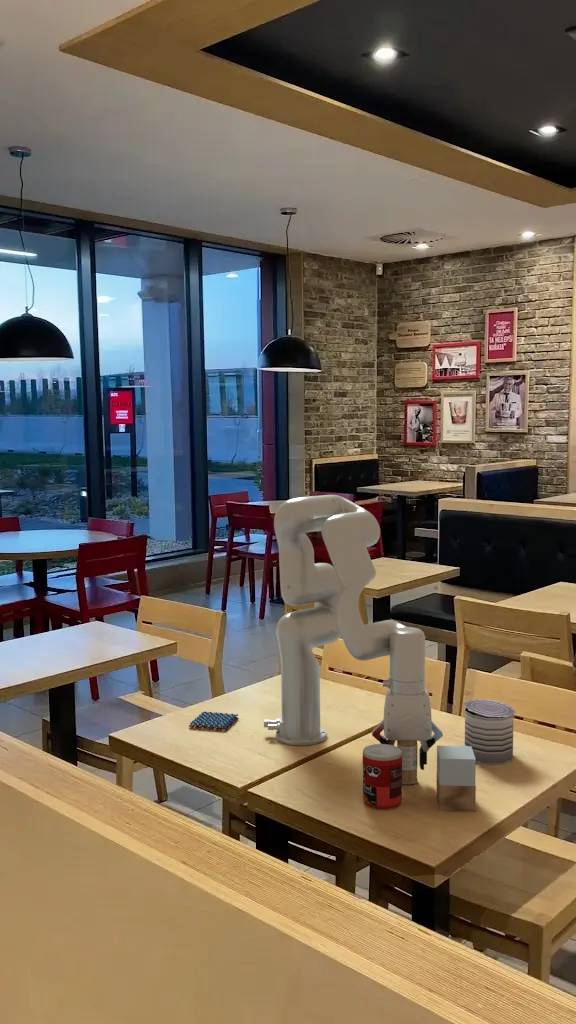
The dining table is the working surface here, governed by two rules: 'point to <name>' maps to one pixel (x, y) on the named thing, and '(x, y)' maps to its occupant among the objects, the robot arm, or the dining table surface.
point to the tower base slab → (456, 798)
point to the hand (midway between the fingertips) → (407, 766)
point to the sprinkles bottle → (408, 761)
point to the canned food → (382, 776)
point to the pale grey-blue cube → (456, 765)
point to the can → (489, 731)
